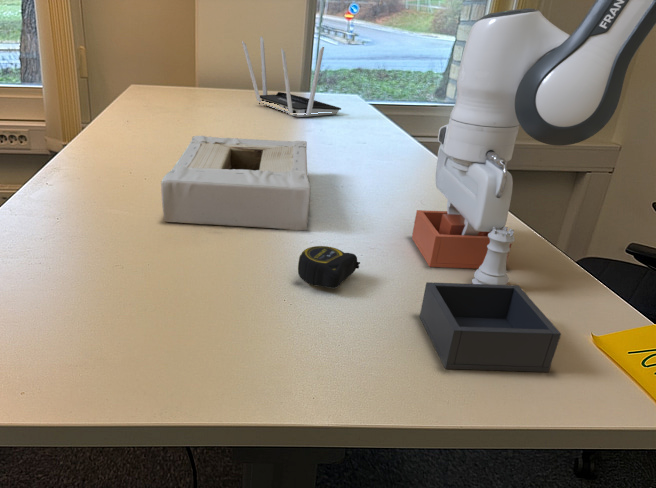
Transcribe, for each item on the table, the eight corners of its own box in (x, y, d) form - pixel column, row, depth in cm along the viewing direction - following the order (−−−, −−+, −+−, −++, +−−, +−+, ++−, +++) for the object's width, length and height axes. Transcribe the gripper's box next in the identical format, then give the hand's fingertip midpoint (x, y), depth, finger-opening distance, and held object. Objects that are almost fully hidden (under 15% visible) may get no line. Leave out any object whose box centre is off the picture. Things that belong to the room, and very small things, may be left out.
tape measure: (335, 298, 72) (338, 270, 70) (287, 282, 75) (289, 256, 73) (358, 278, 77) (361, 252, 75) (312, 265, 80) (314, 240, 78)
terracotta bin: (479, 240, 91) (485, 212, 89) (504, 269, 81) (513, 239, 79) (411, 238, 91) (416, 210, 88) (429, 266, 81) (435, 236, 79)
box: (191, 169, 120) (161, 223, 92) (191, 131, 117) (160, 175, 88) (303, 177, 120) (308, 233, 91) (307, 139, 116) (313, 185, 88)
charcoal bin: (508, 320, 69) (518, 285, 66) (548, 372, 59) (561, 333, 57) (419, 317, 68) (426, 282, 66) (445, 369, 59) (454, 330, 57)
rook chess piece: (512, 295, 74) (528, 237, 71) (477, 294, 74) (491, 235, 71) (499, 280, 78) (514, 224, 75) (466, 278, 78) (479, 222, 75)
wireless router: (352, 118, 174) (361, 46, 165) (288, 124, 164) (293, 47, 154) (291, 100, 200) (295, 36, 190) (231, 104, 189) (233, 36, 180)
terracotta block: (466, 243, 88) (472, 215, 86) (476, 255, 84) (483, 226, 82) (436, 242, 88) (442, 213, 85) (445, 254, 84) (451, 224, 81)
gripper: (535, 164, 69) (507, 269, 76) (477, 127, 87) (458, 215, 94) (482, 162, 69) (459, 267, 76) (435, 126, 87) (419, 214, 94)
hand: (458, 238), depth 85 cm, fingers closed on terracotta block, 4 cm apart
